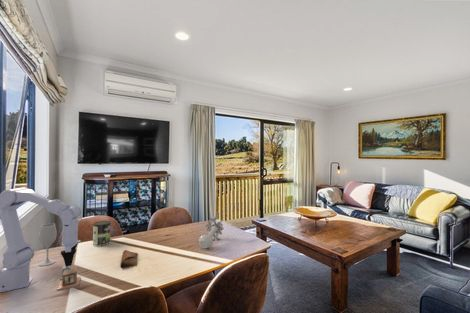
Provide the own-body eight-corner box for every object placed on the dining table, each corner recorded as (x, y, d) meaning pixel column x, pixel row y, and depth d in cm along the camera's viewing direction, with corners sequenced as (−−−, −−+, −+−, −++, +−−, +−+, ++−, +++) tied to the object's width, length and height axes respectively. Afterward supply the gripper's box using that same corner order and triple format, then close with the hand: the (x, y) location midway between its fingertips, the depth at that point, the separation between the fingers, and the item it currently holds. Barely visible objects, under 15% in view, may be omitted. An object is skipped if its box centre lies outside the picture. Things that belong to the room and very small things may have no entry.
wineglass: (41, 261, 125) (42, 223, 125) (58, 258, 128) (58, 222, 128) (35, 267, 118) (36, 227, 118) (53, 264, 121) (54, 226, 121)
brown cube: (62, 286, 100) (62, 275, 100) (63, 281, 104) (64, 270, 104) (75, 283, 102) (76, 272, 102) (76, 278, 107) (77, 267, 107)
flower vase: (210, 260, 144) (224, 237, 167) (213, 236, 139) (226, 216, 162) (192, 253, 147) (208, 232, 170) (194, 230, 142) (210, 211, 165)
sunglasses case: (138, 265, 121) (131, 256, 120) (125, 274, 119) (118, 265, 117) (137, 252, 138) (132, 244, 136) (127, 260, 135) (120, 251, 134)
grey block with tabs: (59, 281, 105) (60, 269, 105) (63, 270, 116) (63, 259, 116) (67, 279, 107) (67, 267, 107) (70, 268, 117) (70, 258, 117)
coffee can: (113, 240, 157) (113, 220, 157) (104, 246, 147) (104, 225, 147) (98, 240, 157) (99, 220, 157) (89, 246, 147) (89, 224, 147)
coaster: (56, 290, 98) (56, 289, 98) (59, 282, 104) (59, 280, 104) (78, 285, 102) (79, 284, 102) (80, 277, 109) (80, 276, 109)
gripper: (79, 236, 99) (78, 266, 99) (81, 227, 112) (81, 254, 112) (59, 238, 96) (58, 270, 96) (64, 229, 108) (63, 257, 108)
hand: (69, 262), depth 103 cm, fingers open, 7 cm apart
